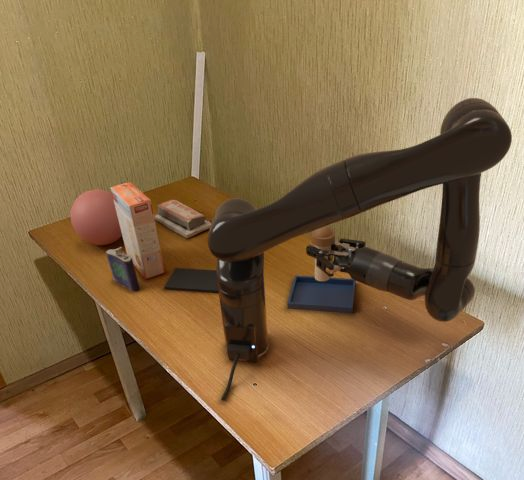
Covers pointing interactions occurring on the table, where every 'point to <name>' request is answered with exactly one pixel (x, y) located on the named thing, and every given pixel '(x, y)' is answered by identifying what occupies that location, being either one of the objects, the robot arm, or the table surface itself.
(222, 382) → the table surface
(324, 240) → the mushroom
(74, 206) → the balloon
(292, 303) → the tray
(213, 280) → the mat
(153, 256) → the cracker box
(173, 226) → the packaged product
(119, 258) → the flask
